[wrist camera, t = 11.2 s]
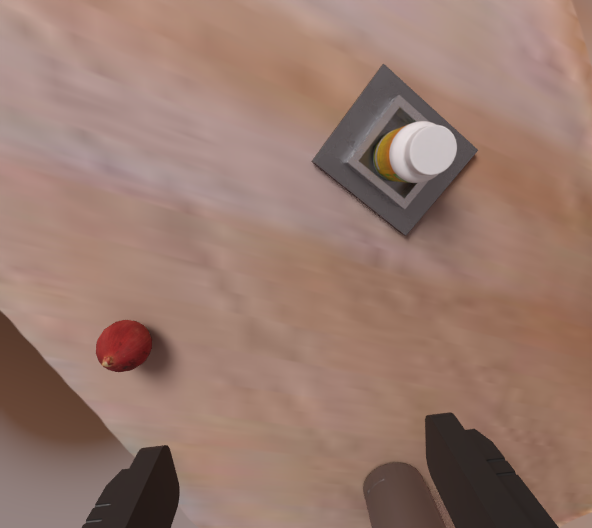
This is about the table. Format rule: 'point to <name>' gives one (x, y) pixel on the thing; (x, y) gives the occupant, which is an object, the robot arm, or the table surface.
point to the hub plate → (363, 138)
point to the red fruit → (123, 346)
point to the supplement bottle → (414, 152)
